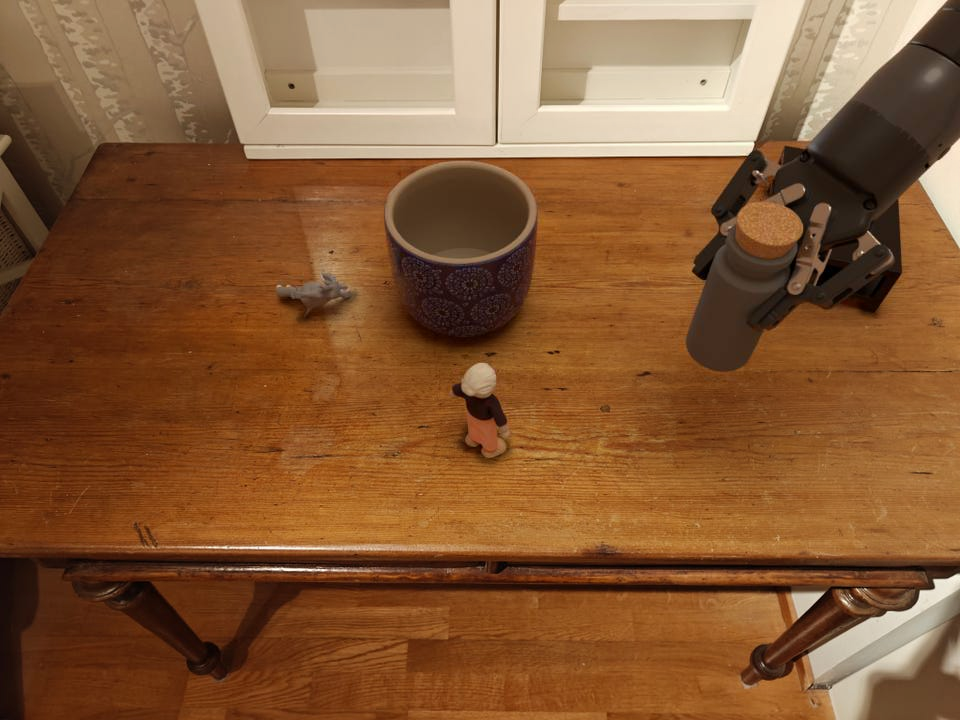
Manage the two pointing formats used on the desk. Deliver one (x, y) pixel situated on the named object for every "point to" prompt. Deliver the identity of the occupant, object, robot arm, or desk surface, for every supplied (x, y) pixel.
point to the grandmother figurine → (482, 410)
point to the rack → (841, 257)
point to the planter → (461, 245)
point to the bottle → (742, 285)
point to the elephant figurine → (315, 291)
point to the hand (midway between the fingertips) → (725, 301)
